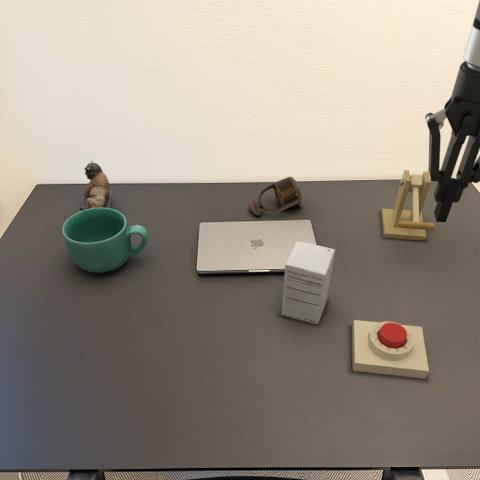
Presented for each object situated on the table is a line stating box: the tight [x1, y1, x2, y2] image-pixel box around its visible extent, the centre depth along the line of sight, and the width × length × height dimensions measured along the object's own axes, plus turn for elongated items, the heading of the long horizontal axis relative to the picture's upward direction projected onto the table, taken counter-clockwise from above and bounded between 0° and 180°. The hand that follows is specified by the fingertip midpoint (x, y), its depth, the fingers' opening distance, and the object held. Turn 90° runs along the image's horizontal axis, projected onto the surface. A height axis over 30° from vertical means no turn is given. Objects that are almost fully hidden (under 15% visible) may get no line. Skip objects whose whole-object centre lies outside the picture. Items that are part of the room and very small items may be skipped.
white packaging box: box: [281, 240, 336, 325], centre depth 86 cm, size 7×7×13 cm
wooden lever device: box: [380, 169, 432, 242], centre depth 104 cm, size 10×9×13 cm
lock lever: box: [398, 173, 436, 231], centre depth 98 cm, size 13×7×2 cm, turn 171°
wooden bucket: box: [248, 175, 303, 216], centre depth 111 cm, size 7×13×10 cm
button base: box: [351, 319, 430, 380], centre depth 81 cm, size 12×10×4 cm
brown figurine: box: [78, 160, 113, 212], centre depth 110 cm, size 12×7×10 cm, turn 5°
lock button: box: [378, 322, 407, 348], centre depth 79 cm, size 4×4×2 cm
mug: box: [61, 207, 149, 274], centre depth 97 cm, size 17×12×10 cm
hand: (439, 217), depth 78 cm, fingers closed
